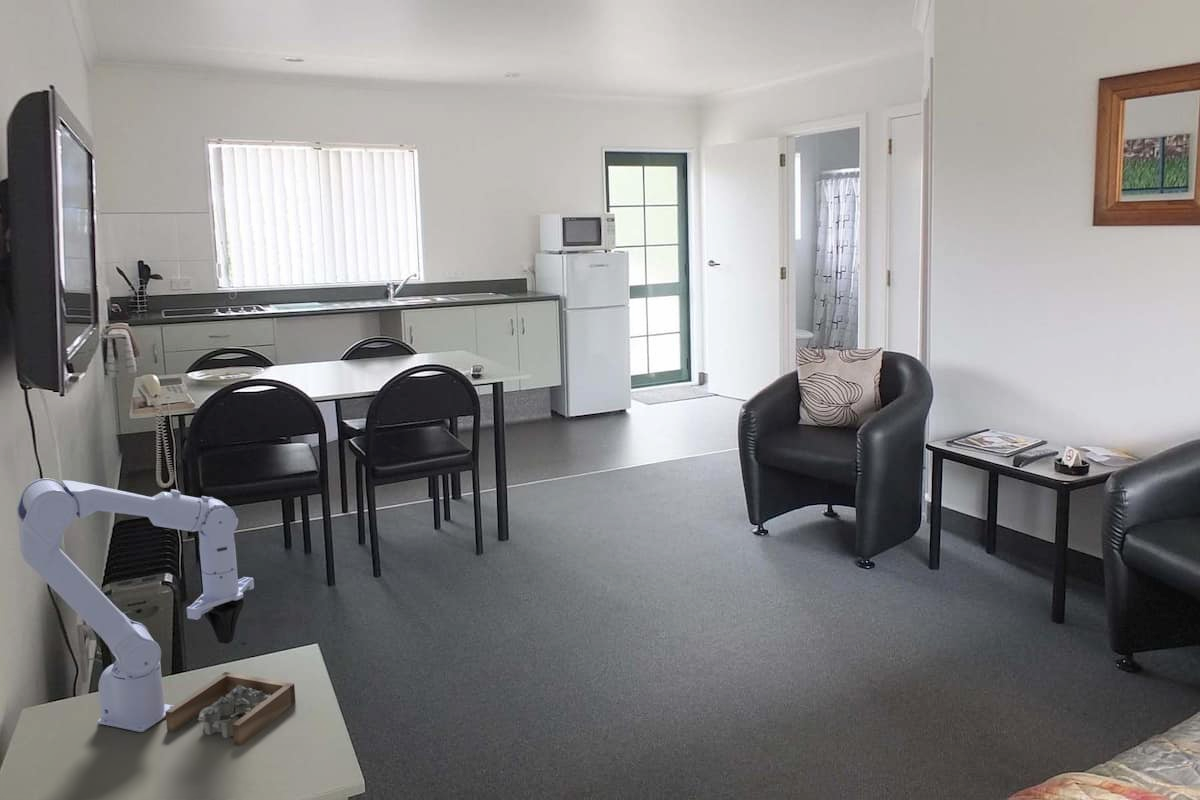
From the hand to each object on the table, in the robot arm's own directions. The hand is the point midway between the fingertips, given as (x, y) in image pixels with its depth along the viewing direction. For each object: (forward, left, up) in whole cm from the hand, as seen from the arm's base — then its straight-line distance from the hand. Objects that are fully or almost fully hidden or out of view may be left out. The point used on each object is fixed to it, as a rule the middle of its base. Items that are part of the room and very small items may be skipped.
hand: (225, 641), depth 162 cm
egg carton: (+8, -8, -10) cm, 15 cm away
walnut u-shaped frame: (+7, -7, -9) cm, 13 cm away
